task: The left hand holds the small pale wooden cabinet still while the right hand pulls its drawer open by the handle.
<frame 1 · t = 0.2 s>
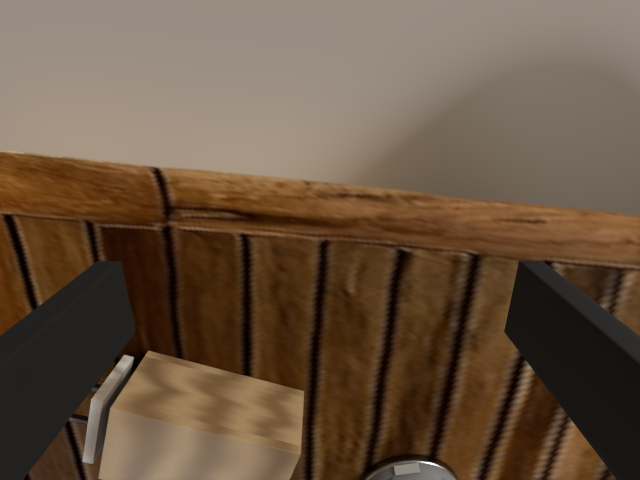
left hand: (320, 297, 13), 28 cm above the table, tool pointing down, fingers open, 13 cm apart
cabinet: (218, 402, 51), on the table
drawer: (161, 419, 46), point 5 cm above the table, slide at 1.2 cm
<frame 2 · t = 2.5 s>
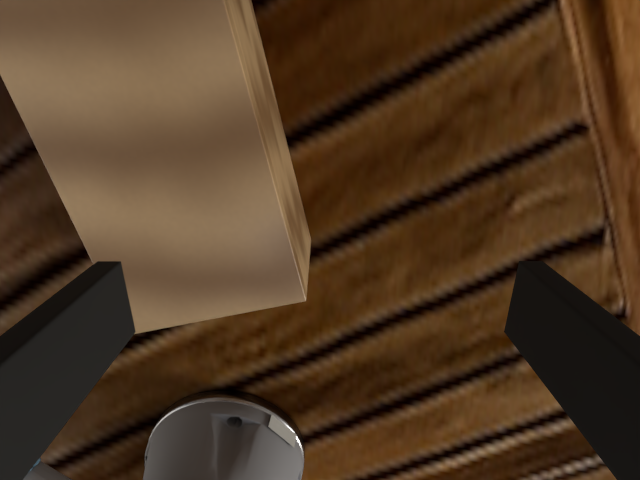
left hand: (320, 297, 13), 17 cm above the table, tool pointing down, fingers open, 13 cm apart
cabinet: (203, 124, 27), on the table
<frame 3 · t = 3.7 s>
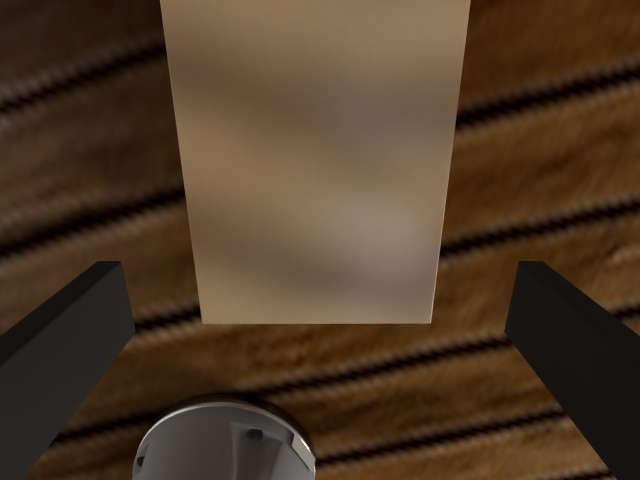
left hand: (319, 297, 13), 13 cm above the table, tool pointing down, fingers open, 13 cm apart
cabinet: (316, 92, 23), on the table
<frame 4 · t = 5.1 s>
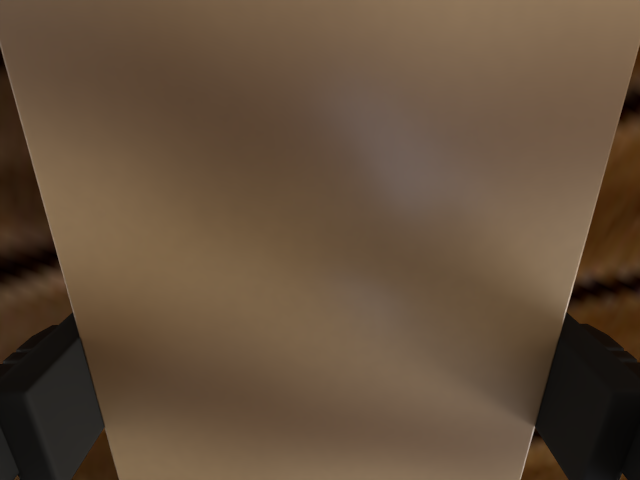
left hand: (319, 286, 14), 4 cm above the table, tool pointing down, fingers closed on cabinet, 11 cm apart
cabinet: (319, 89, 15), on the table, touching left hand
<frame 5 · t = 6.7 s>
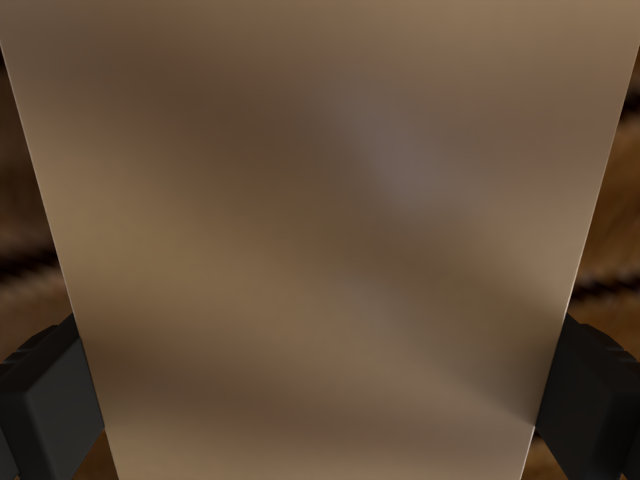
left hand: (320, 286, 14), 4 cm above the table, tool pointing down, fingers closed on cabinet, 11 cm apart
cabinet: (319, 89, 15), on the table, touching left hand
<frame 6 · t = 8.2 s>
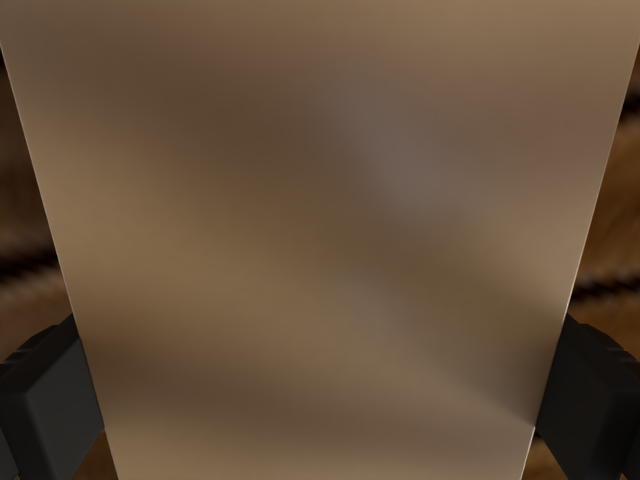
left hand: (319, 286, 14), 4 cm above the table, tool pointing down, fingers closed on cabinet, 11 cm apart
cabinet: (319, 90, 15), on the table, touching left hand
when the left hand's fingers open (4 cm above the table, at t = 10.2 s): cabinet stays where it is, on the table.
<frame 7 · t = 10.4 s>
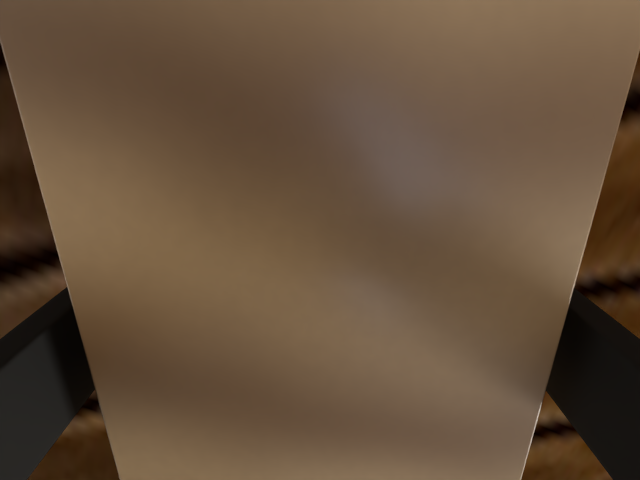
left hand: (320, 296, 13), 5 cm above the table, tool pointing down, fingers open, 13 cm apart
cabinet: (320, 87, 15), on the table
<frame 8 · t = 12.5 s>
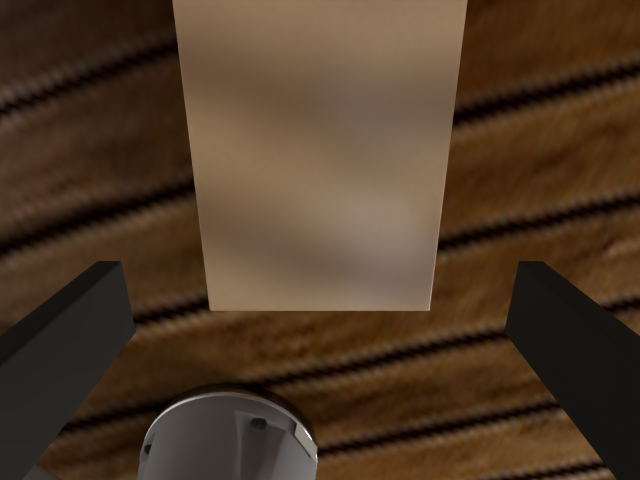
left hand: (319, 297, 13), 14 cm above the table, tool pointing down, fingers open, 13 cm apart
cabinet: (319, 88, 24), on the table
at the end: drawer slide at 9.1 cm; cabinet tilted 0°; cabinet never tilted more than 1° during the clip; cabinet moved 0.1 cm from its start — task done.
